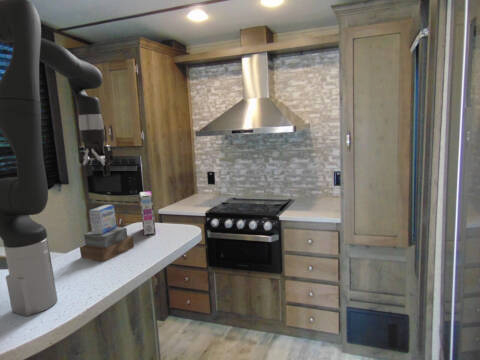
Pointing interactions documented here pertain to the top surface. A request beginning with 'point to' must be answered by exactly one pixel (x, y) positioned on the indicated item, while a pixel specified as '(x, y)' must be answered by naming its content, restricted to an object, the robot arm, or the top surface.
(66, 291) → the top surface
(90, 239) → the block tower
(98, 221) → the medicine box
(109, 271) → the top surface
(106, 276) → the top surface
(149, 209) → the white cardboard box
